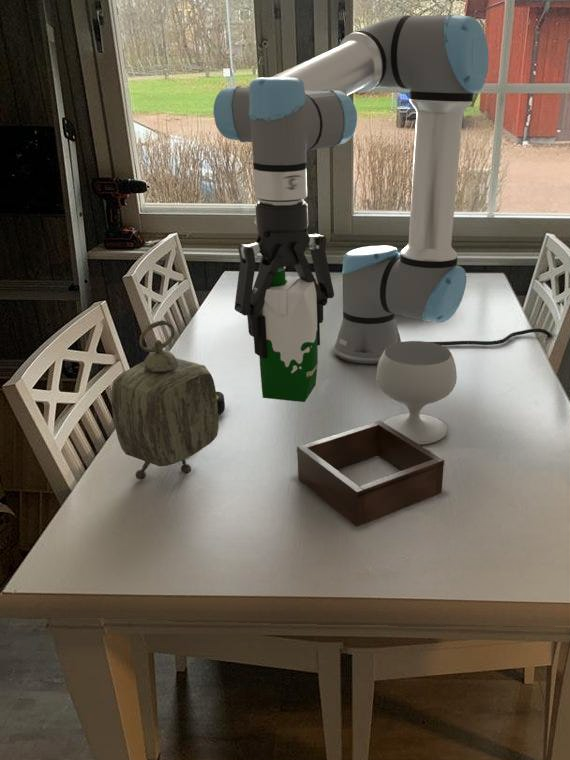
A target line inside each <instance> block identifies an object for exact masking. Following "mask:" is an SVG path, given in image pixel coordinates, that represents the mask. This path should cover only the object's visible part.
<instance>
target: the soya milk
mask: <svg viewBox="0 0 570 760" xmlns="http://www.w3.org/2000/svg"><path fill="white" fill-rule="evenodd" d="M257 272H259V269H258V271H257ZM315 280H316V281H317V278H315ZM252 289H253V288H252ZM257 290H258V289H257V288H254V289H253V291H254V294H255V293H256V292H257ZM264 301H265V302H264V305H263V308H262V310H261V313H260V315H262V316H265V325H266V342H267V358H262V357H260V356H258V357H259V371H260V382H261V383H260V384H261V394H262V395H261V396H262V398H263V399H270V400H279V401H291V402H300V403H306V401H307V400H308V398H309V396H310V395H311V393H312V392H313V390H314V388H315V387H316V385H317V375H318V374H317V373H318V365H319V364H318V363H319V360H318V359H319V357H318V356H319V355H318V353H319V352H318V351H319V350H318V346H319V345H317V298H316V289H315V284H314V282H309V283H308V282H306V281H304V280H302V279H300V277H299V276H286V267H285V268H279V269H278V272H277V274H276V275H274V277H273V280H272V283H271V285H270V288H269V289H267V290H266V294H265V299H264Z"/></svg>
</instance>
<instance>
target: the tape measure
mask: <svg viewBox="0 0 570 760" xmlns="http://www.w3.org/2000/svg"><path fill="white" fill-rule="evenodd" d="M216 397H217V405H218V417H219V416H220V415H222V414H223V413H224V412H225V410H226V408H225V407H226V402H225V395H224V393H222V392H221V391H216Z"/></svg>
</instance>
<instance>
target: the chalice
mask: <svg viewBox="0 0 570 760" xmlns="http://www.w3.org/2000/svg"><path fill="white" fill-rule="evenodd" d="M431 342H432V341H423V340H408V341H401V342H399V343H395V344H392V345H390V346H388V347H387V348H386V349H385V350H384V352H383V354H382V356H381V358H380V360H379V363H378V364H377V368H376V383H377V385H378V388H379V389H380V390H381V392H382V393H384V395H386V396H387V397H388V398H389V399H392V400H394V401H397V402H399V403H401V404H403V405H405V406H406V408H407V409H408V412H409V413H400V414H396V415H391V416H390V417H388V418H386V419H384V420H383V421H382V422H383V423H385V424H387V425H388V426H390V427H392V428H393V429H395V430H396V431H398V432H400V433H401V434H403V435H405V436H406V437H408V438H409V439H411V440H413V441H414V442H416V443H417V444H419V445H427V444H433V443H435V442H438V441H440V440H442V439H443V438H444V437H446V436H447V433H448V428H447V426H446V424H444V423H443V422H442V421H441V420H440V419H439V418H437V417H435V416H431V415H427V414H422V413H421V410H422V409H423V408H424V407H425V406H426V405H430V404H434V403H437V402H439V401H441V400H443V399H445V398H447V396H449V395H450V393H452V392H453V391H454V388H455V386H456V385H457V379H458V375H457V366H456V362H455V358H454V356H453V353H452V352H451V350H450V349H448V348H447V347H446V346H445V345H439V344H435V343H431Z"/></svg>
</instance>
